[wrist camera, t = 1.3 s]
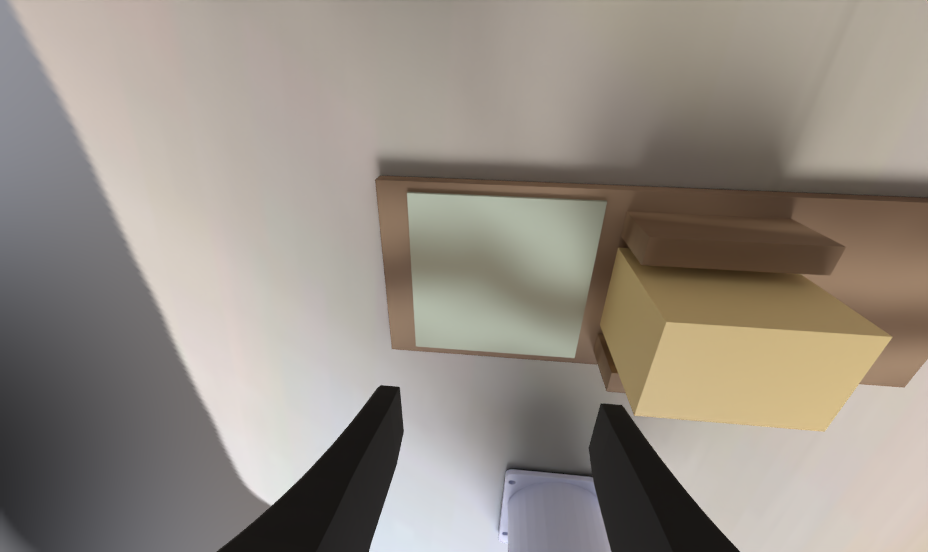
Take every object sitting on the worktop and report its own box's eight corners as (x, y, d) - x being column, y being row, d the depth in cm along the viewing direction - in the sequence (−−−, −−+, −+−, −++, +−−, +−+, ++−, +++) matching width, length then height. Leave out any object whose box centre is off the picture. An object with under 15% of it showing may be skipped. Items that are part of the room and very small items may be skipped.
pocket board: (890, 376, 21) (964, 435, 17) (395, 340, 23) (377, 386, 19) (1025, 201, 16) (1163, 236, 12) (380, 175, 18) (352, 199, 15)
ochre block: (737, 333, 19) (824, 431, 14) (599, 324, 20) (634, 415, 15) (774, 255, 17) (892, 337, 12) (618, 247, 18) (666, 321, 12)
